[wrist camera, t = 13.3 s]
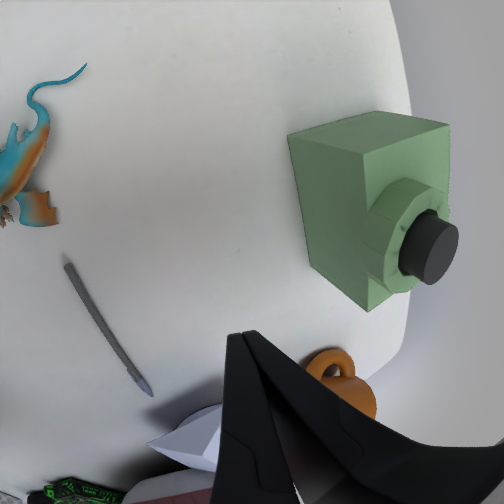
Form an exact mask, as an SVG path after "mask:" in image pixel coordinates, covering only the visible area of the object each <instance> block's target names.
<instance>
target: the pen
mask: <svg viewBox="0 0 504 504" xmlns="http://www.w3.org/2000/svg"><path fill="white" fill-rule="evenodd" d="M64 269H65V271H66V272H67V274H68V276H69V278H70V280H71V282H72V283H73V285H74V287H75V289H76V291H77V292H78V294H79V296H80V297H81V299H82V301H83V303H84V304H85V306H86V308H87V309H88V311H89V313H90V314H91V316H92V317H93V319H94V321H95V322H96V324H97V325H98V327H99V328H100V330H101V331H102V333H103V334H104V336H105V337H106V339H107V340H108V342H109V343H110V345H111V346H112V348H113V349H114V351H115V352H116V354H117V355H118V356H119V358H120V359H121V361H122V362H123V363H124V365H125V366H126V367H127V371H128V373H129V374H130V376H131V377H132V378H133V380H134V381H135V382H136V383H137V385H138V386H139V387H140V388H141V389H142V390H143V391H144V392H146V393H147V394H148V395H149V396H151V397H153V394H152V391H151V389H150V388H149V386H148V385H147V384H146V382H145V381H144V380H143V378H142V377H141V376H140V375H139V373H138V372H137V371H136V369H135V368H134V366H133V365H132V364H131V362H130V361H129V359H128V358H127V356H126V355H125V354H124V352H123V351H122V349H121V348H120V346H119V345H118V343H117V342H116V340H115V339H114V337H113V336H112V334H111V332H110V331H109V329H108V328H107V326H106V325H105V323H104V321H103V320H102V318H101V317H100V315H99V313H98V312H97V310H96V308H95V307H94V305H93V303H92V301H91V300H90V298H89V296H88V294H87V293H86V291H85V289H84V287H83V285H82V284H81V282H80V280H79V278H78V276H77V274H76V272H75V271H74V269H73V267H72V265H71V263H68V264H66V265H65V266H64Z"/></svg>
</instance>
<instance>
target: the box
mask: <svg viewBox="0 0 504 504" xmlns="http://www.w3.org/2000/svg"><path fill="white" fill-rule="evenodd" d="M0 504H22V500H19V499H16V498H14V497H11V496H8V495H6V494H3V493H1V492H0Z"/></svg>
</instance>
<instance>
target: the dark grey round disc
mask: <svg viewBox="0 0 504 504" xmlns="http://www.w3.org/2000/svg"><path fill="white" fill-rule="evenodd" d="M458 235H459V234H458V229H457V228H456V226H454V225H452V224H450V223H448V222H446V221H444V220H442V219H440V218H438V217H436V216H434V215H432V214H430V213H427V212H422V213H420V214H419V215H417V217H416V218H415V220H414V221H413V223H412V224H411V226H410V227H409V228H408V230H407V231H406V234H405V237H404V239H403V242H402V245H401V247H400V250H399V257H398V264H399V266H400V267H401V268H402V269H404V270H405V271H407V272H408V273H410V274H411V275H413V276H415V277H416V278H418V279H419V280H421V281H422V282H424V283H425V284H427V285H432V284H434V283H436V282H437V281H438V280H439V279H440V278H441V277H442V276H443V275H444V274H445V272H446V271H447V269H448V268H449V266H450V264H451V262H452V260H453V258H454V255H455V253H456V249H457V245H458V238H459V236H458Z"/></svg>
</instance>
